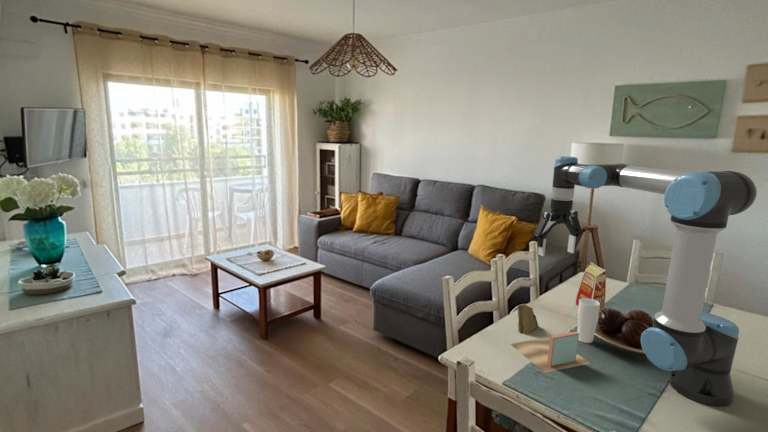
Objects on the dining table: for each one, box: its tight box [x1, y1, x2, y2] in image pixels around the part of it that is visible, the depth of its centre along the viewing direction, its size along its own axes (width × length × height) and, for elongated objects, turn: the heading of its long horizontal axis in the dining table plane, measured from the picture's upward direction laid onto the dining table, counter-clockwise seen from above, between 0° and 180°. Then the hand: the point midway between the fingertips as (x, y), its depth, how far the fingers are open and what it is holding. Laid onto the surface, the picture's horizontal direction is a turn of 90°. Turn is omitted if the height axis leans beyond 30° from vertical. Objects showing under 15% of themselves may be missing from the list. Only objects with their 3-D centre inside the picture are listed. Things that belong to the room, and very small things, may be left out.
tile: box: [547, 330, 579, 367], centre depth 133 cm, size 2×10×10 cm, turn 108°
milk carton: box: [573, 261, 607, 313], centre depth 174 cm, size 9×9×20 cm
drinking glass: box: [576, 298, 600, 344], centre depth 148 cm, size 7×7×15 cm
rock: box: [517, 304, 539, 335], centre depth 156 cm, size 11×9×10 cm
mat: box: [510, 336, 591, 374], centre depth 140 cm, size 18×18×1 cm
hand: (556, 253), depth 158 cm, fingers open, 13 cm apart
